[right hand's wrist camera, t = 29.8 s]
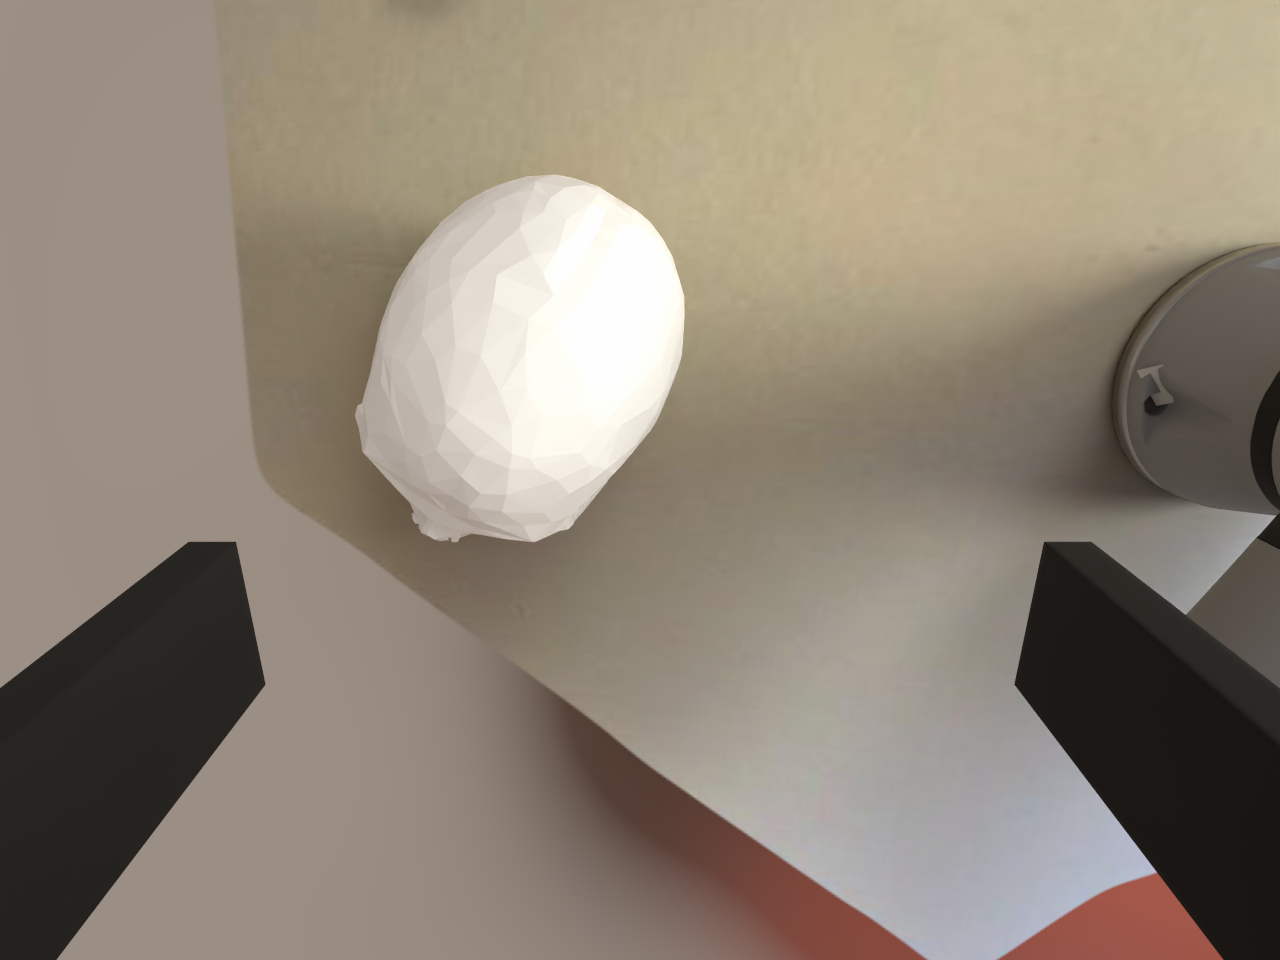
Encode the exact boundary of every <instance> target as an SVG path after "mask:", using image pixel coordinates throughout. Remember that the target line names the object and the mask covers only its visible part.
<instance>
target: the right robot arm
mask: <svg viewBox="0 0 1280 960" xmlns="http://www.w3.org/2000/svg"><path fill="white" fill-rule="evenodd" d="M1112 411H1113V421H1114V427H1115V431H1116V434H1117V438H1118V441H1119V443H1120V445H1121V447H1122V450H1123V452H1124V453H1125V455H1126V456H1127V458H1128V460H1129V461H1130V462H1131V464H1132V465H1133V466H1134V467H1135V468H1136V469H1137V470H1138V471H1139V472H1140V473H1141V474H1142V475H1143V476H1144V477H1145V478H1147V479H1148V480H1149V481H1151V482H1152V483H1154V484H1156V485H1157V486H1159V487H1161V488H1163V489H1164V490H1166V491H1168V492H1170V493H1171V494H1173V495H1175V496H1178V497H1180V498H1182V499H1184V500H1188V501H1191V502H1194V503H1197V504H1200V505H1203V506H1208V507H1212V508H1218V509H1226V510H1233V511H1242V512H1251V513H1259V514H1268V515H1276V517H1275V518H1274V519H1273V521H1272V522H1271V523H1270V524H1269V525H1268V526H1267V527H1266V528H1265V529H1264V531H1263V532H1262V533H1261V534H1260V535H1259V536H1258V537H1257V538H1256V539H1255V540H1254V541H1253V542H1252V543H1251V544H1250V546H1249V547H1248V548H1247V549H1246V550H1245V551H1244V552H1243V553H1242V554H1241V556H1240V557H1239V558H1238V559H1237V560H1236V561H1235V562H1234V563H1233V565H1232V566H1231V567H1230V568H1229V569H1228V570H1227V571H1226V572H1225V573H1224V574H1223V575H1222V577H1221V578H1220V579H1219V580H1218V581H1217V582H1216V583H1215V584H1214V585H1213V586H1212V587H1211V588H1210V590H1209V591H1208V592H1207V593H1206V594H1205V595H1204V596H1203V597H1202V598H1201V599H1200V600H1199V602H1198V603H1197V604H1196V605H1195V606H1194V607H1193V608H1192V609H1191V610H1190V611H1189V612H1188V613H1187V615H1185V614H1184V613H1182V612H1181V611H1180V610H1178V609H1177V608H1176V607H1174V606H1173V605H1172V604H1171V603H1169V602H1168V601H1167V600H1165V599H1164V598H1163V597H1162V596H1160V595H1159V594H1158V593H1156V592H1155V591H1154V590H1153V589H1151V588H1150V587H1149V586H1147V585H1146V584H1145V583H1144V582H1142V581H1141V580H1140V579H1138V578H1137V577H1136V576H1135V575H1133V574H1132V573H1131V572H1129V571H1128V570H1127V569H1126V568H1124V567H1123V566H1122V565H1120V564H1119V563H1118V562H1117V561H1115V560H1114V559H1113V558H1111V557H1110V556H1109V555H1108V554H1106V553H1105V552H1104V551H1102V550H1101V549H1100V548H1098V547H1097V546H1096V545H1095V544H1093V543H1092V542H1044V545H1043V550H1042V555H1041V559H1040V564H1039V569H1038V574H1037V579H1036V583H1035V588H1034V593H1033V598H1032V603H1031V608H1030V612H1029V617H1028V622H1027V627H1026V632H1025V637H1024V641H1023V646H1022V651H1021V656H1020V661H1019V665H1018V670H1017V675H1016V680H1015V686H1016V687H1017V688H1018V690H1019V691H1020V692H1021V694H1022V695H1023V696H1024V698H1025V699H1026V700H1027V702H1028V703H1029V704H1030V706H1031V707H1032V708H1033V709H1034V711H1035V712H1036V713H1037V715H1038V716H1039V717H1040V719H1041V720H1042V721H1043V723H1044V724H1045V725H1046V727H1047V728H1048V729H1049V731H1050V732H1051V733H1052V734H1053V736H1054V737H1055V738H1056V740H1057V741H1058V742H1059V744H1060V745H1061V746H1062V748H1063V749H1064V750H1065V752H1066V753H1067V754H1068V756H1069V757H1070V758H1071V759H1072V761H1073V762H1074V763H1075V765H1076V766H1077V767H1078V769H1079V770H1080V771H1081V773H1082V774H1083V775H1084V777H1085V778H1086V779H1087V781H1088V782H1089V783H1090V784H1091V786H1092V787H1093V788H1094V790H1095V791H1096V792H1097V794H1098V795H1099V796H1100V798H1101V799H1102V800H1103V802H1104V803H1105V804H1106V806H1107V807H1108V808H1109V809H1110V811H1111V812H1112V813H1113V815H1114V816H1115V817H1116V819H1117V820H1118V821H1119V823H1120V824H1121V825H1122V827H1123V828H1124V829H1125V831H1126V832H1127V833H1128V835H1129V836H1130V837H1131V838H1132V840H1133V841H1134V842H1135V844H1136V845H1137V846H1138V848H1139V849H1140V850H1141V852H1142V853H1143V854H1144V856H1145V857H1146V858H1147V860H1148V861H1149V862H1150V863H1151V865H1152V866H1153V867H1154V869H1155V870H1156V871H1157V873H1158V874H1159V875H1160V876H1161V878H1162V879H1163V881H1164V882H1165V883H1166V885H1167V886H1168V887H1169V888H1170V890H1171V891H1172V892H1173V894H1174V895H1175V896H1176V898H1177V899H1178V900H1179V902H1180V903H1181V904H1182V906H1183V907H1184V908H1185V909H1186V911H1187V912H1188V913H1189V915H1190V916H1191V917H1192V919H1193V920H1194V921H1195V923H1196V924H1197V925H1198V927H1199V928H1200V929H1201V931H1202V932H1203V933H1204V935H1205V936H1206V937H1207V938H1208V940H1209V941H1210V942H1211V944H1212V945H1213V946H1214V948H1215V949H1216V950H1217V952H1218V953H1219V954H1220V956H1221V957H1222V958H1223V960H1280V243H1272V244H1263V245H1257V246H1252V247H1248V248H1244V249H1241V250H1237V251H1234V252H1232V253H1229V254H1227V255H1224V256H1221V257H1219V258H1217V259H1215V260H1213V261H1211V262H1209V263H1207V264H1205V265H1204V266H1202V267H1200V268H1199V269H1197V270H1195V271H1194V272H1192V273H1191V274H1189V275H1188V276H1186V277H1185V278H1184V279H1182V280H1181V281H1180V282H1179V283H1177V284H1176V285H1175V286H1174V287H1172V288H1171V289H1170V290H1169V291H1168V292H1167V293H1166V294H1165V295H1164V296H1163V297H1162V298H1161V299H1160V300H1159V301H1158V302H1157V303H1156V304H1155V305H1154V306H1153V307H1152V309H1151V310H1150V311H1149V312H1148V314H1147V315H1146V316H1145V317H1144V319H1143V320H1142V321H1141V323H1140V324H1139V326H1138V327H1137V329H1136V330H1135V332H1134V334H1133V335H1132V337H1131V339H1130V341H1129V343H1128V345H1127V347H1126V349H1125V351H1124V354H1123V356H1122V358H1121V361H1120V364H1119V367H1118V370H1117V374H1116V378H1115V382H1114V389H1113V399H1112ZM1267 543H1268V544H1267ZM1269 544H1270V545H1269ZM1271 545H1272V546H1271ZM1273 546H1274V547H1273ZM1276 548H1277V549H1276ZM1278 549H1279V550H1278ZM264 686H265V680H264V675H263V670H262V665H261V661H260V656H259V651H258V646H257V641H256V637H255V632H254V627H253V622H252V617H251V612H250V608H249V603H248V598H247V593H246V588H245V583H244V579H243V574H242V569H241V564H240V559H239V555H238V550H237V545H236V542H188V543H187V544H185V545H184V546H183V547H182V548H180V549H179V550H178V551H176V552H175V553H174V554H173V555H171V556H170V557H169V558H167V559H166V560H165V561H163V562H162V563H161V564H160V565H158V566H157V567H156V568H154V569H153V570H152V571H151V572H149V573H148V574H147V575H146V576H144V577H143V578H142V579H140V580H139V581H138V582H136V583H135V584H134V585H133V586H131V587H130V588H129V589H127V590H126V591H125V592H124V593H122V594H121V595H120V596H118V597H117V598H116V599H115V600H113V601H112V602H111V603H109V604H108V605H107V606H106V607H104V608H103V609H102V610H100V611H99V612H98V613H97V614H95V615H94V616H93V617H91V618H90V619H89V620H88V621H86V622H85V623H84V624H82V625H81V626H80V627H79V628H77V629H76V630H75V631H73V632H72V633H71V634H70V635H68V636H67V637H66V638H64V639H63V640H62V641H60V642H59V643H58V644H57V645H55V646H54V647H53V648H51V649H50V650H49V651H48V652H46V653H45V654H44V655H42V656H41V657H40V658H39V659H37V660H36V661H35V662H33V663H32V664H31V665H30V666H28V667H27V668H26V669H24V670H23V671H22V672H20V673H19V674H18V675H17V676H15V677H14V678H13V679H11V680H10V681H9V682H8V683H6V684H5V685H4V686H2V687H1V688H0V960H56V959H57V958H58V957H59V956H60V954H61V953H62V952H63V950H64V949H65V948H66V946H67V945H68V944H69V942H70V941H71V940H72V938H73V937H74V936H75V935H76V933H77V932H78V931H79V929H80V928H81V927H82V925H83V924H84V923H85V921H86V920H87V919H88V917H89V916H90V915H91V913H92V912H93V911H94V910H95V908H96V907H97V906H98V904H99V903H100V902H101V900H102V899H103V898H104V896H105V895H106V894H107V892H108V891H109V890H110V888H111V887H112V886H113V884H114V883H115V882H116V881H117V879H118V878H119V877H120V875H121V874H122V873H123V871H124V870H125V869H126V867H127V866H128V865H129V863H130V862H131V861H132V860H133V858H134V857H135V856H136V854H137V853H138V852H139V850H140V849H141V848H142V846H143V845H144V844H145V842H146V841H147V840H148V838H149V837H150V836H151V835H152V833H153V832H154V831H155V829H156V828H157V827H158V825H159V824H160V823H161V821H162V820H163V819H164V817H165V816H166V815H167V813H168V812H169V811H170V809H171V808H172V807H173V806H174V804H175V803H176V802H177V800H178V799H179V798H180V796H181V795H182V794H183V792H184V791H185V790H186V788H187V787H188V786H189V784H190V783H191V782H192V780H193V779H194V778H195V777H196V775H197V774H198V773H199V771H200V770H201V769H202V767H203V766H204V765H205V763H206V762H207V761H208V759H209V758H210V757H211V755H212V754H213V753H214V752H215V750H216V749H217V748H218V746H219V745H220V744H221V742H222V741H223V740H224V738H225V737H226V736H227V734H228V733H229V732H230V731H231V729H232V728H233V727H234V725H235V724H236V723H237V721H238V720H239V719H240V717H241V716H242V715H243V713H244V712H245V711H246V709H247V708H248V707H249V706H250V704H251V703H252V702H253V700H254V699H255V698H256V696H257V695H258V694H259V692H260V691H261V690H262V688H263V687H264Z"/></svg>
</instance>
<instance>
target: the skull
mask: <svg viewBox="0 0 1280 960" xmlns="http://www.w3.org/2000/svg"><path fill="white" fill-rule="evenodd" d="M683 331H684V294H683V291H682V287H681V284H680V281H679V277H678V274H677V271H676V267H675V264H674V261H673V257H672V255H671V253H670V251H669V249H668V248H667V246H666V244H665V242H664V240H663V239H662V237H661V236H660V235H659V233H658V232H657V231H656V229H655V228H654V227H653V225H652V224H651V223H650V222H649V221H648V220H647V219H646V218H645V217H643V216H642V215H641V214H640V213H639V212H638V211H636V210H635V209H633V208H631V207H630V206H628V205H627V204H625V203H624V202H622V201H620V200H619V199H617V198H616V197H614V196H613V195H611V194H610V193H608V192H606V191H605V190H603V189H602V188H600V187H599V186H596V185H593V184H590V183H587V182H584V181H580V180H577V179H574V178H571V177H565V176H559V175H542V176H527V177H523V178H519V179H516V180H513V181H509V182H506V183H502V184H499V185H496V186H494V187H492V188H490V189H488V190H485V191H484V192H482V193H480V194H478V195H476V196H475V197H473V198H471V199H469V200H467V201H465V202H464V203H463V204H461V205H460V206H459V207H458V208H457V209H456V210H455V211H453V212H452V213H451V214H450V215H449V216H447V217H446V218H445V219H444V220H443V221H442V222H440V224H439V225H438V226H437V227H436V228H435V230H434V231H433V232H432V233H431V234H430V236H429V237H428V238H427V239H426V240H425V242H424V243H423V244H422V245H421V246H420V248H419V249H418V250H417V252H416V253H415V255H414V256H413V258H412V259H411V261H410V262H409V264H408V265H407V267H406V268H405V270H404V271H403V273H402V275H401V276H400V278H399V280H398V281H397V283H396V285H395V287H394V290H393V292H392V295H391V298H390V300H389V303H388V306H387V308H386V311H385V314H384V316H383V319H382V322H381V325H380V329H379V333H378V338H377V342H376V347H375V352H374V357H373V362H372V366H371V371H370V375H369V379H368V383H367V386H366V390H365V394H364V397H363V401H362V404H360V405H358V406H357V409H356V413H355V417H356V421H357V424H358V428H359V432H360V439H361V445H362V452H363V453H364V454H365V455H366V456H367V457H368V458H369V459H370V461H371V462H372V463H373V464H374V465H375V466H376V467H377V468H378V469H379V470H380V471H381V473H382V474H383V475H384V476H385V477H386V478H387V479H388V480H389V481H390V482H391V483H392V485H393V486H394V487H395V488H396V489H397V490H398V491H399V492H400V493H401V494H402V495H403V496H404V497H405V498H406V499H407V500H408V501H409V502H410V504H411V507H412V509H413V511H414V513H412V519H413V521H414V523H415V524H419V527H418V529H420V531H421V533H423V534H425V535H427V536H429V537H431V538H432V539H434V540H438V541H445V540H448V541H449V539H448V538H451V539H450V541H452V542H458V540H459V539H460V538H461V537H464V536H467V535H469V534H478V535H484V536H490V537H495V538H501V539H508V540H517V541H526V542H536V541H538V540H541V539H543V538H545V537H547V536H549V535H552V534H554V533H556V532H558V531H563V530H567V529H569V528H570V527H571V526H572V525H573V524H574V521H575V520H576V519H577V518H578V517H579V516H580V515H581V513H582V512H583V511H584V510H585V509H586V507H587V506H588V505H589V504H590V503H591V502H592V500H593V499H594V498H595V497H596V496H597V494H598V493H599V492H600V490H601V489H602V488H603V487H604V485H605V484H606V483H607V481H608V479H609V478H610V477H611V476H612V475H613V474H614V473H615V472H616V471H617V470H618V469H619V468H620V467H621V466H622V465H623V463H624V462H625V461H626V460H627V459H628V457H629V456H630V455H631V454H632V453H633V451H634V450H635V449H636V448H637V446H638V445H639V444H640V443H641V442H642V440H643V439H644V438H645V437H646V435H647V434H648V433H649V432H650V431H651V429H652V428H653V426H654V424H655V423H656V421H657V419H658V417H659V415H660V412H661V410H662V408H663V405H664V403H665V401H666V398H667V396H668V394H669V391H670V389H671V386H672V383H673V381H674V378H675V375H676V373H677V370H678V367H679V364H680V361H681V358H682V346H683Z"/></svg>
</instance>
